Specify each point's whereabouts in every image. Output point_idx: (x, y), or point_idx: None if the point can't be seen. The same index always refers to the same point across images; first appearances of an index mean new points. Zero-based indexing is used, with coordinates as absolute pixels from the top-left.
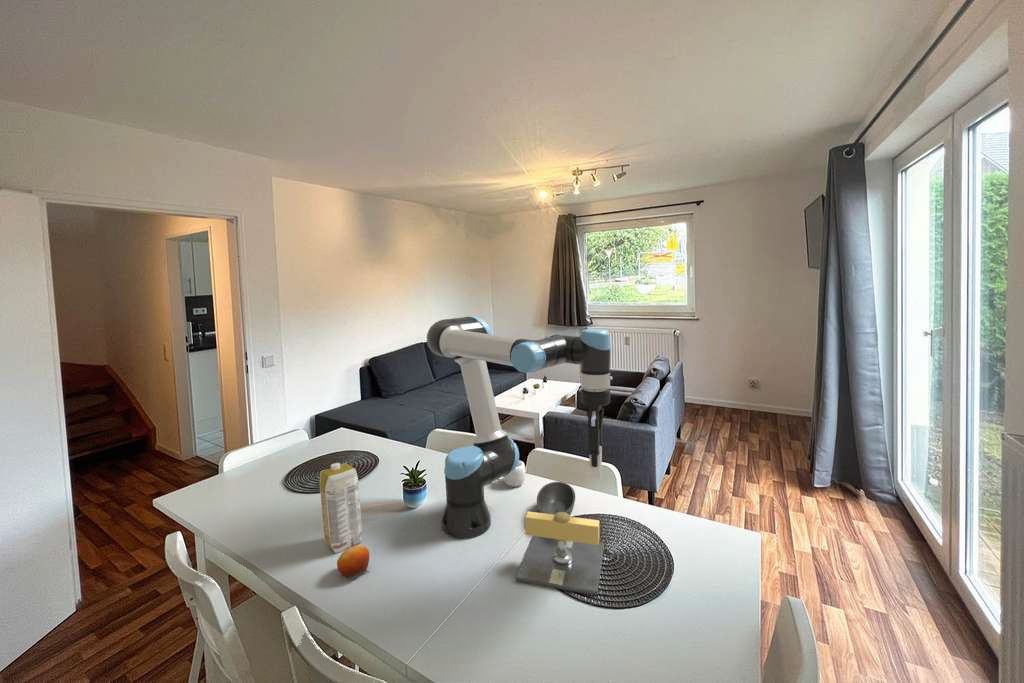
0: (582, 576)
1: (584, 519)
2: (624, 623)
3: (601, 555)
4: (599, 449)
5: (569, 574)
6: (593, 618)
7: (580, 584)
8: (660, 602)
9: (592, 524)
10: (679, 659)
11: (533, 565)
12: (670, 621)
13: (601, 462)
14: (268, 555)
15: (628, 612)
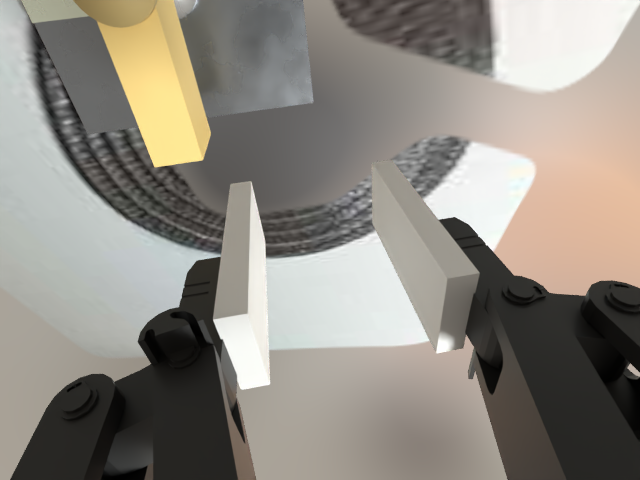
0: (118, 78)
1: (176, 99)
2: (52, 203)
3: (246, 109)
4: (428, 318)
5: (100, 33)
6: (9, 139)
7: (80, 82)
8: (165, 250)
9: (157, 141)
10: (43, 291)
11: None
12: (124, 270)
13: (387, 253)
14: None
15: (91, 204)
